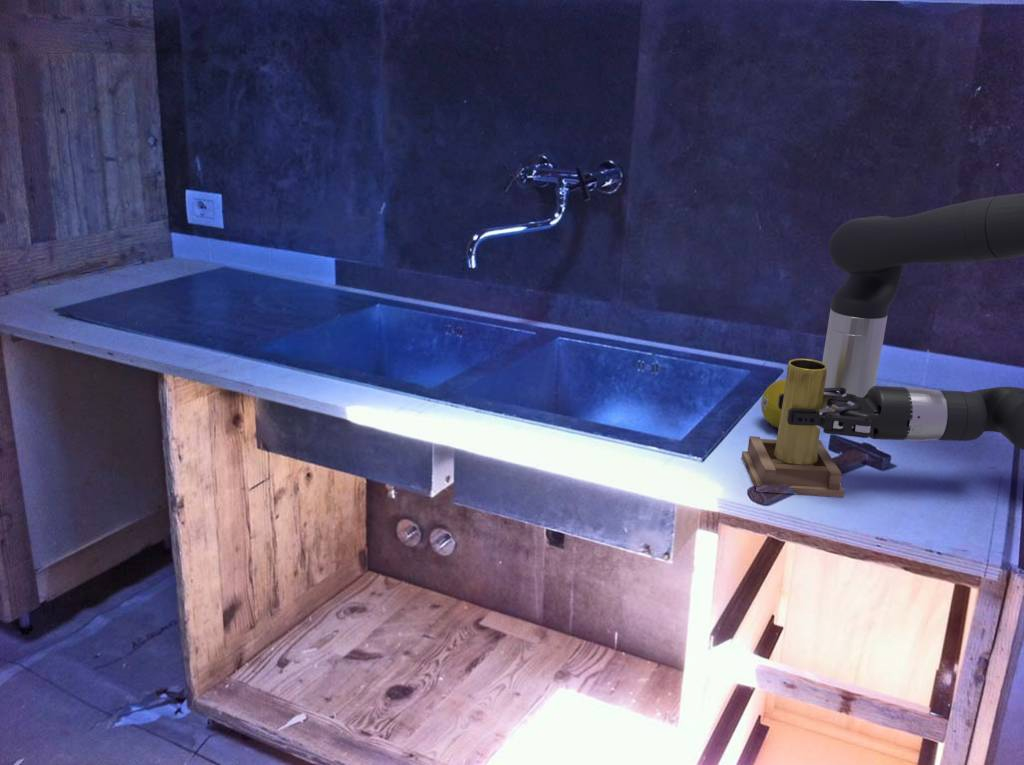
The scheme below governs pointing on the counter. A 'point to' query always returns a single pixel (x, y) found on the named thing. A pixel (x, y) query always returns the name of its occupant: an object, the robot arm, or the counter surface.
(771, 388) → the lemon
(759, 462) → the socket block
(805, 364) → the vase
